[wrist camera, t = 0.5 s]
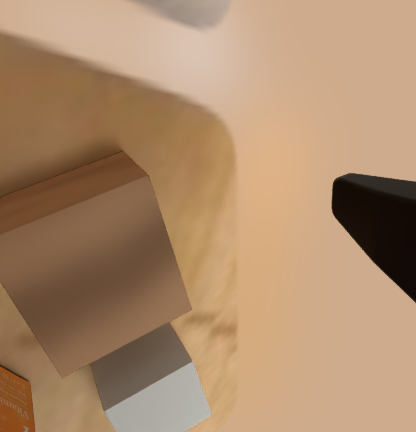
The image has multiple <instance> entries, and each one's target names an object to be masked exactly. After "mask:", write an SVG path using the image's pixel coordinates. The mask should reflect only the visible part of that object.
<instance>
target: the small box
mask: <svg viewBox="0 0 416 432" xmlns="http://www.w3.org/2000/svg"><path fill="white" fill-rule="evenodd" d="M0 432H35V424H34V414H33V403H32V394H31V385H30V383H29V382H27V381H26V380H24V379H22V378H20V377H18V376H16V375H14V374H13V373H11V372H9V371H8V370H6V369H4V368H3V367H1V366H0Z"/></svg>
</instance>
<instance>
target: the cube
mask: <svg viewBox="0 0 416 432" xmlns="http://www.w3.org/2000/svg"><path fill="white" fill-rule="evenodd" d="M90 365H91V369H92V372H93V375H94V379H95V382H96V386H97V389H98V393H99V396H100V400H101V403H102V406H103V410H104V412H105V414H106V416H107V418H108V419H109V421H110V423H111V424H112V426H113V428H114V429H115V431H116V432H185V431H187V430H189V429H190V428H192V427H194V426H195V425H197V424H198V423H200V422H202V421H203V420H205V419H206V418H208V417H210V416H211V415H212V414H211V411H210V408H209V406H208V403H207V400H206V397H205V394H204V391H203V389H202V386H201V383H200V380H199V377H198V375H197V372H196V369H195V366H194V363H193V361H192V359H191V357H190V356H189V354H188V352H187V351H186V349H185V347H184V346H183V344H182V342H181V341H180V339H179V337H178V336H177V334H176V332H175V331H174V329H173V327H172V326H171V324H170V322H168V323H166V324H164V325H162V326H160V327H158V328H156V329H154V330H153V331H151V332H149V333H147V334H145V335H143V336H141V337H139V338H137V339H135V340H134V341H132V342H130V343H128V344H126V345H124V346H122V347H120V348H118V349H116V350H115V351H113V352H111V353H109V354H107V355H105V356H103V357H101V358H99V359H97V360H96V361H94V362H92V363H90Z"/></svg>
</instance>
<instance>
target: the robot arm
mask: <svg viewBox="0 0 416 432" xmlns="http://www.w3.org/2000/svg"><path fill="white" fill-rule="evenodd" d="M332 212H333V214H334V216H335V218H336V219H337V220H338V221H339V223H340V224H341V225H342V226H343V227H344V228H345V230H346V231H347V232H348V233H349V234H350V236H351V237H352V238H353V239H354V240H355V241H356V243H357V244H358V245H359V246H360V247H361V248H362V250H363V251H364V252H365V253H366V254H367V255H368V256H369V258H370V259H371V260H372V261H373V262H374V263H375V264H376V265H377V266H378V267H379V268H380V269H381V270H382V271H383V272H384V273H385V274H386V275H387V276H388V277H389V278H390V279H391V280H393V282H395V283H396V284H397V285H398V286H399V287H400V288H401V289H402V290H403V291H404V292H405V293H406V294H407V295H408V296H409V297H410V298H411V299H412V300H413V301H414V302H415V303H416V182H413V181H407V180H399V179H392V178H384V177H377V176H369V175H362V174H355V173H349V174H346V175H343V176H340V177H338V178H336V179H335V180H334V182H333V188H332Z"/></svg>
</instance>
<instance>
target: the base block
mask: <svg viewBox="0 0 416 432" xmlns="http://www.w3.org/2000/svg"><path fill="white" fill-rule="evenodd" d="M0 282H1V284H2V285H3V287H4V288H5V290H6V291H7V293H8V295H9V296H10V298H11V299H12V301H13V302H14V304H15V305H16V307H17V309H18V310H19V312H20V313H21V315H22V316H23V318H24V320H25V321H26V323H27V324H28V326H29V327H30V329H31V330H32V332H33V334H34V335H35V337H36V338H37V340H38V341H39V343H40V345H41V346H42V348H43V349H44V351H45V352H46V354H47V355H48V357H49V359H50V360H51V362H52V363H53V365H54V366H55V368H56V370H57V371H58V373H59V374H60V376H61V377H62V378H63V377H65V376H67V375H69V374H71V373H73V372H75V371H77V370H78V369H80V368H82V367H84V366H86V365H88V364H90V363H92V362H94V361H96V360H97V359H99V358H101V357H103V356H105V355H107V354H109V353H111V352H113V351H115V350H116V349H118V348H120V347H122V346H124V345H126V344H128V343H130V342H132V341H134V340H135V339H137V338H139V337H141V336H143V335H145V334H147V333H149V332H151V331H153V330H154V329H156V328H158V327H160V326H162V325H164V324H166V323H168V322H170V321H172V320H173V319H175V318H177V317H179V316H181V315H183V314H185V313H187V312H189V311H191V310H192V308H191V305H190V302H189V299H188V296H187V293H186V289H185V286H184V283H183V280H182V277H181V274H180V271H179V268H178V265H177V262H176V259H175V255H174V252H173V249H172V246H171V243H170V240H169V237H168V234H167V231H166V228H165V224H164V221H163V218H162V215H161V212H160V209H159V206H158V203H157V200H156V197H155V193H154V190H153V187H152V184H151V181H150V178H149V175H148V174H147V173H146V172H145V171H144V170H143V169H141V168H140V167H139V166H138V165H137V164H136V163H135V162H134V161H133V160H132V159H131V158H130V157H129V156H128V155H127V154H126V153H125V152H123V151H122V152H120V153H117V154H114V155H111V156H109V157H106V158H103V159H101V160H98V161H95V162H93V163H90V164H87V165H85V166H82V167H79V168H77V169H74V170H71V171H69V172H66V173H63V174H61V175H58V176H55V177H53V178H50V179H47V180H45V181H42V182H39V183H37V184H34V185H31V186H29V187H26V188H23V189H21V190H18V191H15V192H12V193H10V194H7V195H4V196H2V197H0Z"/></svg>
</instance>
